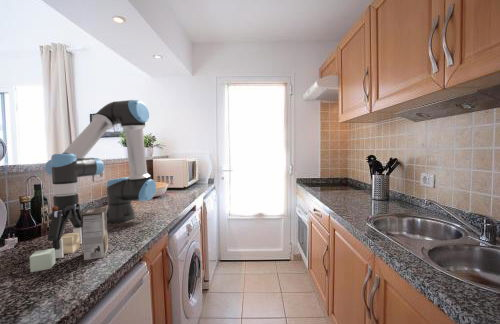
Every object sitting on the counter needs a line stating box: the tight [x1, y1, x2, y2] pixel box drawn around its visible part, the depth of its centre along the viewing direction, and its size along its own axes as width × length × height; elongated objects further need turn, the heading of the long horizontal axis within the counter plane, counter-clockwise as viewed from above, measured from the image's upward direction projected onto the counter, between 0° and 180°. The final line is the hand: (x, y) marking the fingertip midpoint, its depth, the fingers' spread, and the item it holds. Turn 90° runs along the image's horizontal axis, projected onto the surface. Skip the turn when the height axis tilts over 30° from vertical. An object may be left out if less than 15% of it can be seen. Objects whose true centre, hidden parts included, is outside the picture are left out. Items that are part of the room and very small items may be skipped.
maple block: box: [61, 232, 81, 255], centre depth 91 cm, size 5×5×6 cm
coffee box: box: [81, 207, 109, 261], centre depth 87 cm, size 9×6×16 cm
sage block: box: [29, 247, 56, 273], centre depth 78 cm, size 5×5×5 cm
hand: (69, 250), depth 91 cm, fingers open, 12 cm apart
